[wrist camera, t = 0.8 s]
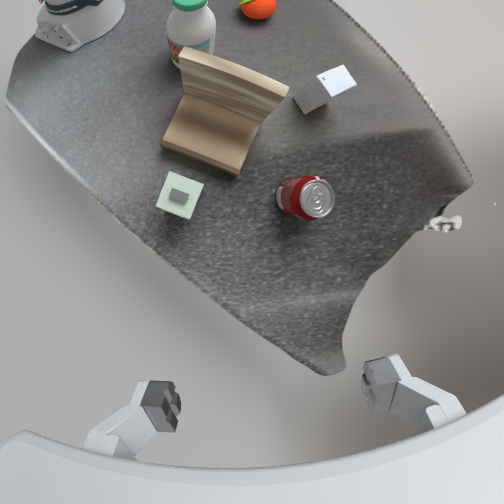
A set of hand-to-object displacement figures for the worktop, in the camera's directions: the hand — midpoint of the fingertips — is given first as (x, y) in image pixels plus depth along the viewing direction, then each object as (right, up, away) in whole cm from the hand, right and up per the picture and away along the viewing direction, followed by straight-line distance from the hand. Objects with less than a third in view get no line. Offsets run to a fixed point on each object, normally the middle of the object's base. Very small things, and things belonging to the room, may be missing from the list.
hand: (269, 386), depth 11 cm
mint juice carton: (-12, +16, +37) cm, 42 cm away
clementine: (-1, +54, +31) cm, 62 cm away
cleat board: (-8, +26, +36) cm, 45 cm away
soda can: (+7, +16, +41) cm, 44 cm away
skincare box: (+10, +34, +37) cm, 52 cm away
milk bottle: (-12, +42, +32) cm, 54 cm away
